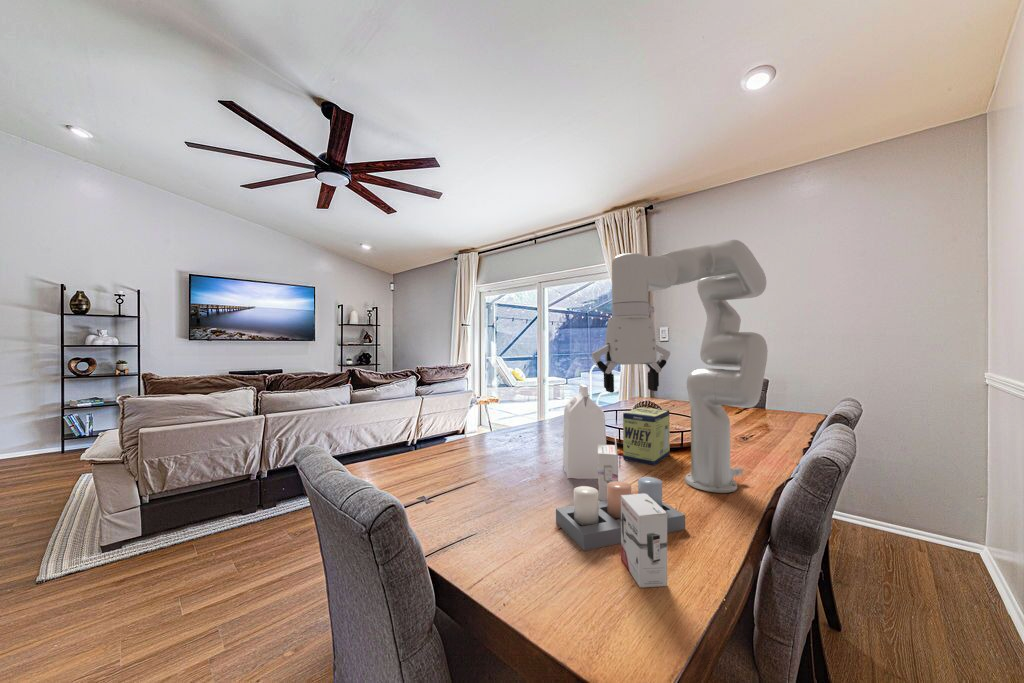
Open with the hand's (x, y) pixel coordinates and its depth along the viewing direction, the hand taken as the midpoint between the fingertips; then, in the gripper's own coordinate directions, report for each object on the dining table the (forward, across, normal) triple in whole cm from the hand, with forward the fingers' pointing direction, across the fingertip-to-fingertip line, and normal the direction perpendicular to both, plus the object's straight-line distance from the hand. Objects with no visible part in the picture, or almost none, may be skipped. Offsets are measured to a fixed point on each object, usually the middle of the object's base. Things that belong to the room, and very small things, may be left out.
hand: (631, 391), depth 82 cm
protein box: (+29, -24, -43) cm, 57 cm away
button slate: (+26, -4, -1) cm, 26 cm away
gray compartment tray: (+28, +4, +1) cm, 29 cm away
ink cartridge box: (+29, 0, -15) cm, 32 cm away
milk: (+29, +1, -32) cm, 43 cm away
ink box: (+29, +6, +17) cm, 34 cm away
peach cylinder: (+26, +4, +1) cm, 26 cm away
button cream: (+26, +11, +3) cm, 29 cm away
